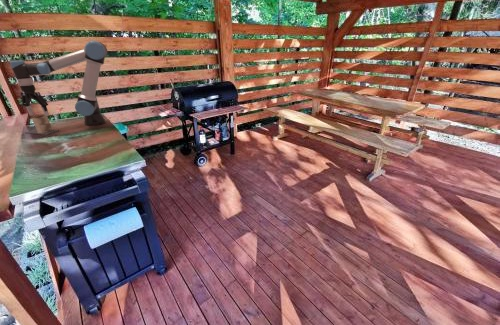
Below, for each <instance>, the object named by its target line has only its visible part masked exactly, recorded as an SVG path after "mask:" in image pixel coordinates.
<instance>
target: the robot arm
mask: <svg viewBox="0 0 500 325" xmlns="http://www.w3.org/2000/svg"><path fill="white" fill-rule="evenodd" d="M107 55H108V49H107V46H106V45H105V44H104V43H103V42H100V41H97V40H90V41H88V42H86V43H85V45H84V47H83V49H80V50H79V49H78V50H75V51H72V52H70V53H69V52H68V53H66V54H63V55H61V56H57V57H54V58H51V59H48V60H45V61H41V62H34V63H33V62H32V63H26V62H25V61H24V60H23V59H21V60H10V61H9V64H10V68H11V70H12V72H13V74H14V77H15V78H16V80H17V83H18V85H19V89H20V90H21V92H20V95H21V105H22V106H23V107H25V108H26V110H27V113H29V114H28V115H29V116H31V117H32V116H36V115H35V113H34V110H33V108H32V106H31V101H32V100H34V101H36V102H37V103H38V104H39V105H40V108H41V109H42V112H43V114H44V115H45V116H47V117H48V116H50V112H49V110H48V107H47V106H49V103H48V102H47V101H46V99H44V97H43V96H42V95H41V93H40V92H39V91H37V92H36V90H37V89H36V87H35V85H34V81H33V79H32V78H31V76H46V75H50V74H52V73H53V72H55V71H56V72H57V71H59V70H61V69H65V68H69V67H71V66H73V65H77V64H80V63H83V62H86V64H85V69H84V74H83V81H82V87H81V92H80V94H78V95H77V100H76V103H75V105H74V109H75V111H76V112H77V113H78V114H79V115H81V116H83V118H84V121H83V123H84V126H89V127H93V126H99V125H103V124H106V123H107V122H106V119H105V117H104V116H103V115H102V113H101V110H100V105H99V102H98V98H97V96H96V92H97V88H98V82H99V77H100V72H101V66H103V65H104V64H105V59H106V57H107Z"/></svg>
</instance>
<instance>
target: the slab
mask: <svg viewBox="0 0 500 325" xmlns="http://www.w3.org/2000/svg"><path fill="white" fill-rule="evenodd" d="M30 118H31V120H32V122H33V124H34V126H35V129H36V130H37V132H38V133H45V132H48V131H51V130H53V127H52V125H51V122H50V119H49V117H48V116H45V115H44V113H42V114H37V115H32V116H31V117H30Z"/></svg>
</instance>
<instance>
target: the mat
mask: <svg viewBox="0 0 500 325" xmlns="http://www.w3.org/2000/svg"><path fill="white" fill-rule="evenodd" d="M57 132H60V129H52V130H51V131H48V132H45V133H38V132H37V130H36V128H35V129H32V130H28V131H25V132H24V134H29V135H41V136H42V135H43V136H47V135H52V134H54V133H57Z"/></svg>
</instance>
